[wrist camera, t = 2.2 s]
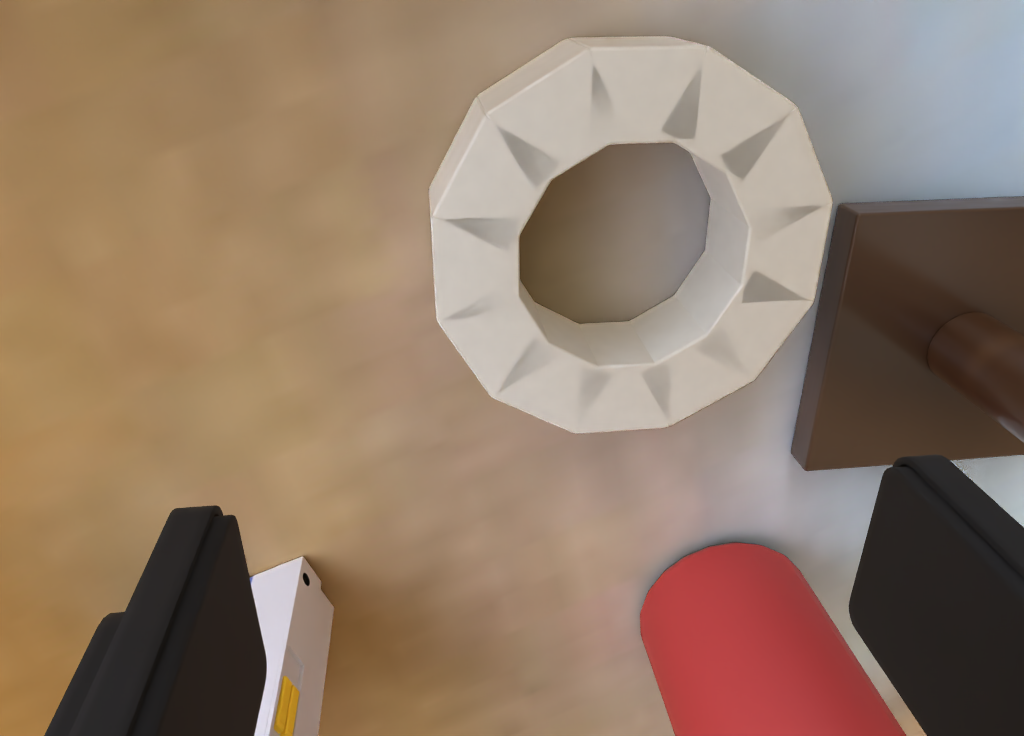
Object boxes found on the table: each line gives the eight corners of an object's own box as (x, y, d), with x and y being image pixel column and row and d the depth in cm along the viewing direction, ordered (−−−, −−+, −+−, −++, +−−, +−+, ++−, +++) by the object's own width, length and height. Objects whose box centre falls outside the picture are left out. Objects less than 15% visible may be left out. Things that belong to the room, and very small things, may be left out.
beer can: (815, 530, 29) (1047, 852, 18) (778, 654, 32) (959, 994, 21) (647, 535, 28) (788, 877, 17) (625, 663, 31) (735, 1020, 20)
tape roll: (420, 39, 20) (420, 49, 17) (807, 33, 21) (865, 42, 18) (440, 393, 24) (443, 444, 22) (753, 373, 25) (793, 420, 23)
